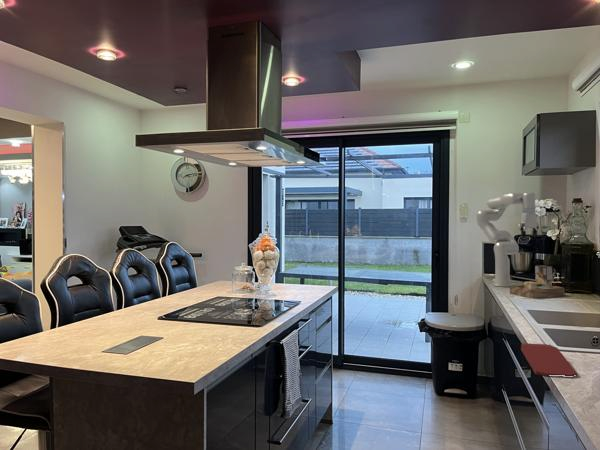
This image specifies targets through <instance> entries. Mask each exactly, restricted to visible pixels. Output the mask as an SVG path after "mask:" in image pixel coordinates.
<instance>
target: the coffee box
mask: <svg viewBox="0 0 600 450" xmlns="http://www.w3.org/2000/svg"><path fill="white" fill-rule="evenodd" d="M553 270H554V267H553V266H549V265H543V264H542V265H541V264H540V265H535V269H534V271H535V281H534V282H537V284H546V285H551V286H552V279H553V280H554V278H553V277H554V271H553Z"/></svg>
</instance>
